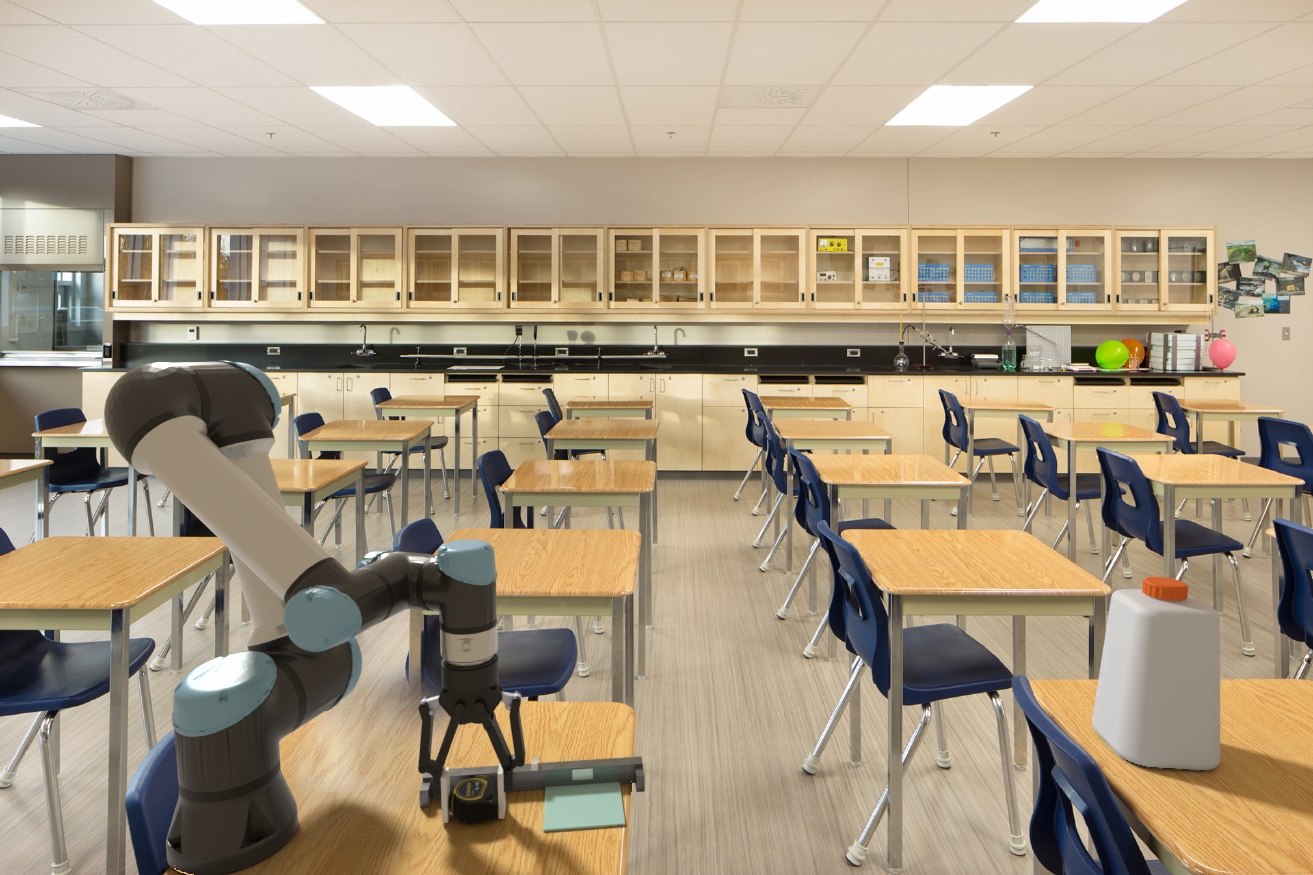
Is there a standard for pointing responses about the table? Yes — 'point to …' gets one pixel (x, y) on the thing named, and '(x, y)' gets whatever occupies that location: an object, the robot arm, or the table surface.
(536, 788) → the rail
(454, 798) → the tape measure
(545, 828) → the pad
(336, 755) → the table surface
